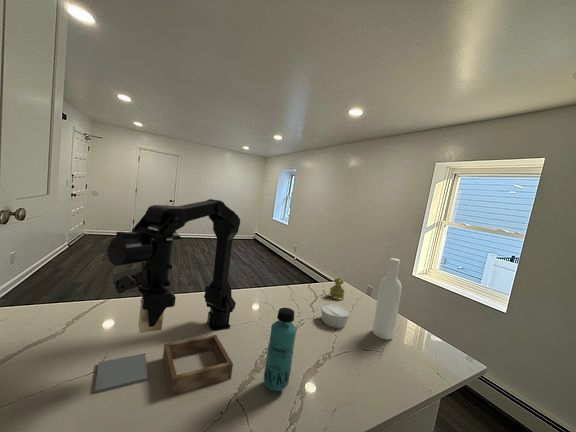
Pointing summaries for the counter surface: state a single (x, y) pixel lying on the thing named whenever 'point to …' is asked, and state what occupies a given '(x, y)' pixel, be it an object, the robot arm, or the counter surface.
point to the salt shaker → (337, 290)
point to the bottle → (388, 302)
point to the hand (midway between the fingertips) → (150, 321)
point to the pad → (121, 372)
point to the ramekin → (334, 315)
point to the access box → (196, 377)
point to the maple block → (145, 324)
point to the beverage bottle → (280, 351)
